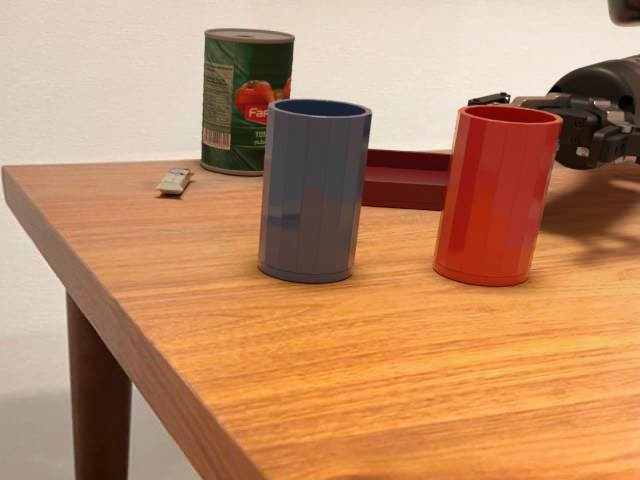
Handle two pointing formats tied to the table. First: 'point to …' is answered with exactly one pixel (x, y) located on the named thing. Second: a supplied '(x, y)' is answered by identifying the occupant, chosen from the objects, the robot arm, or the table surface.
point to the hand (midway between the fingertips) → (533, 141)
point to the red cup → (495, 193)
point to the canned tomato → (241, 95)
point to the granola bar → (175, 180)
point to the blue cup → (312, 188)
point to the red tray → (405, 179)
